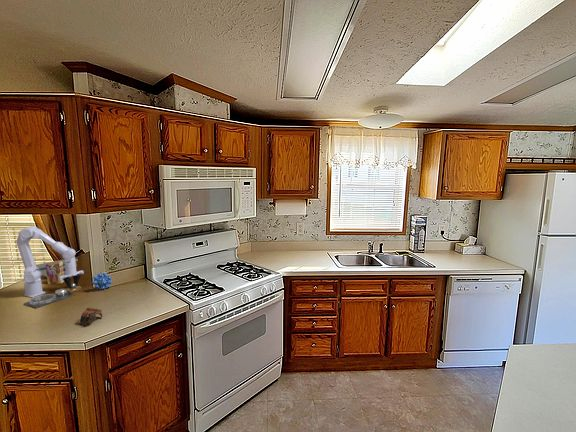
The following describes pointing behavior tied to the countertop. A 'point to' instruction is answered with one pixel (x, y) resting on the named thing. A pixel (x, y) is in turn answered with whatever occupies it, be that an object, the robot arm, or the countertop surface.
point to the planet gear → (73, 288)
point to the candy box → (54, 272)
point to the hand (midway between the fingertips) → (72, 286)
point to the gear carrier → (48, 298)
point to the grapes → (102, 281)
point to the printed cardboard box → (43, 266)
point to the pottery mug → (89, 315)
